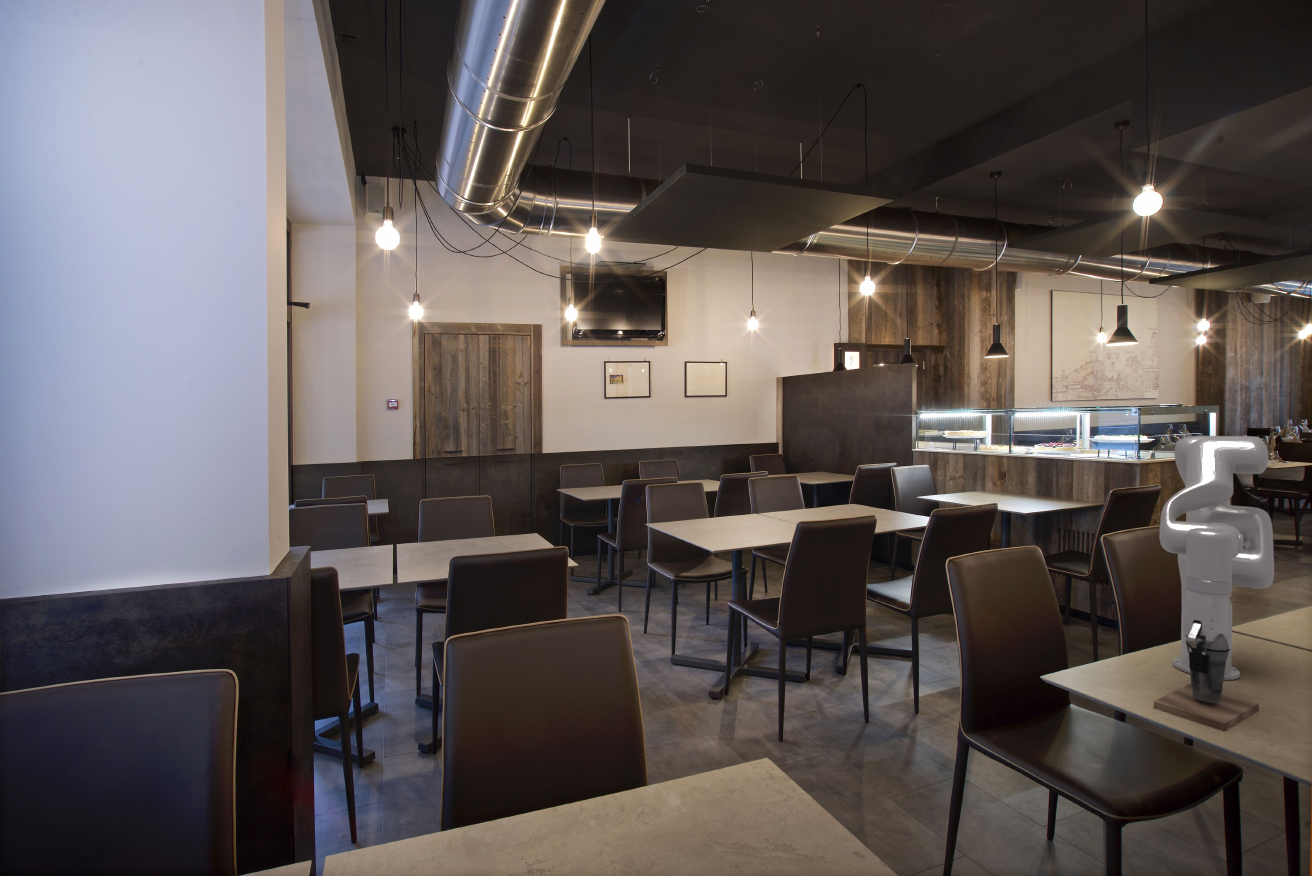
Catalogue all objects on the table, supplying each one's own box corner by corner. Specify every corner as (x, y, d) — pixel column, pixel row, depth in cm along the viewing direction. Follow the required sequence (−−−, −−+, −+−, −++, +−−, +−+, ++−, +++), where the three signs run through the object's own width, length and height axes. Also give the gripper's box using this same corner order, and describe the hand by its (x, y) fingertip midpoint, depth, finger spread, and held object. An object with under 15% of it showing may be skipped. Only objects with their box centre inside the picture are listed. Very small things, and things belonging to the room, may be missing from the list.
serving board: (1190, 689, 147) (1190, 683, 147) (1258, 710, 136) (1258, 703, 136) (1153, 708, 138) (1153, 701, 137) (1224, 731, 127) (1224, 723, 127)
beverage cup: (1237, 707, 133) (1239, 612, 132) (1197, 704, 134) (1199, 611, 133) (1214, 692, 140) (1216, 602, 139) (1176, 690, 141) (1178, 601, 141)
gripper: (1203, 577, 144) (1202, 654, 144) (1168, 588, 135) (1167, 670, 136) (1246, 584, 137) (1245, 665, 138) (1213, 596, 129) (1211, 683, 129)
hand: (1206, 667), depth 137 cm, fingers closed on beverage cup, 6 cm apart
